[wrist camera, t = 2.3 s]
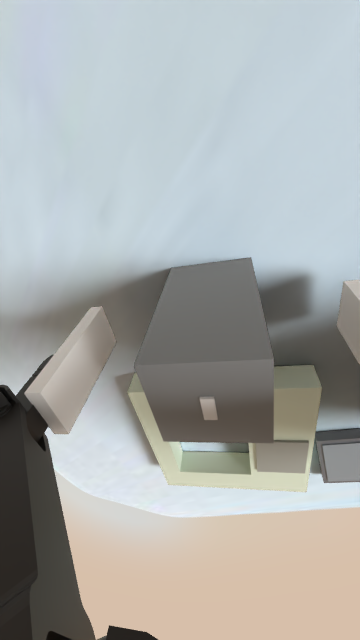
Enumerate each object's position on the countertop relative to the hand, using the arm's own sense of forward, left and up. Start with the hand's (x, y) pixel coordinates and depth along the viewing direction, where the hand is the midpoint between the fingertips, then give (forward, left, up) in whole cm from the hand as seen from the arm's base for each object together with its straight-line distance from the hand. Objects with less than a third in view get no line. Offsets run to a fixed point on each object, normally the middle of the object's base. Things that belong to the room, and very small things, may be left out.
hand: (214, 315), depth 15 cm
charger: (0, 0, -2) cm, 2 cm away
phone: (+17, +9, -2) cm, 19 cm away
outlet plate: (+13, 0, -2) cm, 13 cm away
